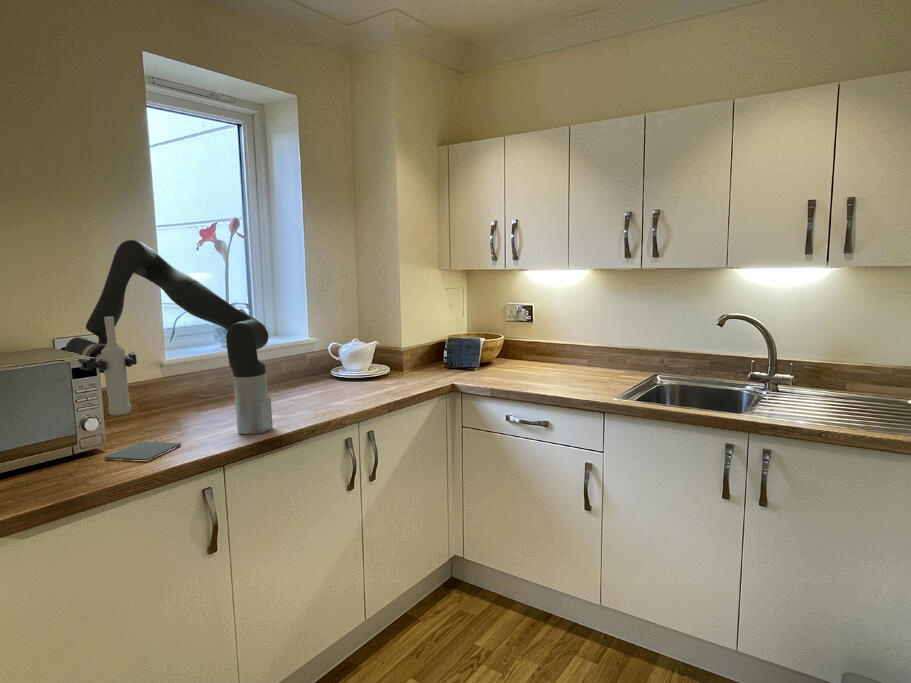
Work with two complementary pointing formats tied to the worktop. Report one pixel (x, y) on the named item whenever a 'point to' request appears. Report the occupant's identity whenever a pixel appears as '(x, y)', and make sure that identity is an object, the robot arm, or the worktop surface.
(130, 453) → the charcoal mat
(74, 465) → the worktop surface
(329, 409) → the worktop surface
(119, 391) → the bottle
